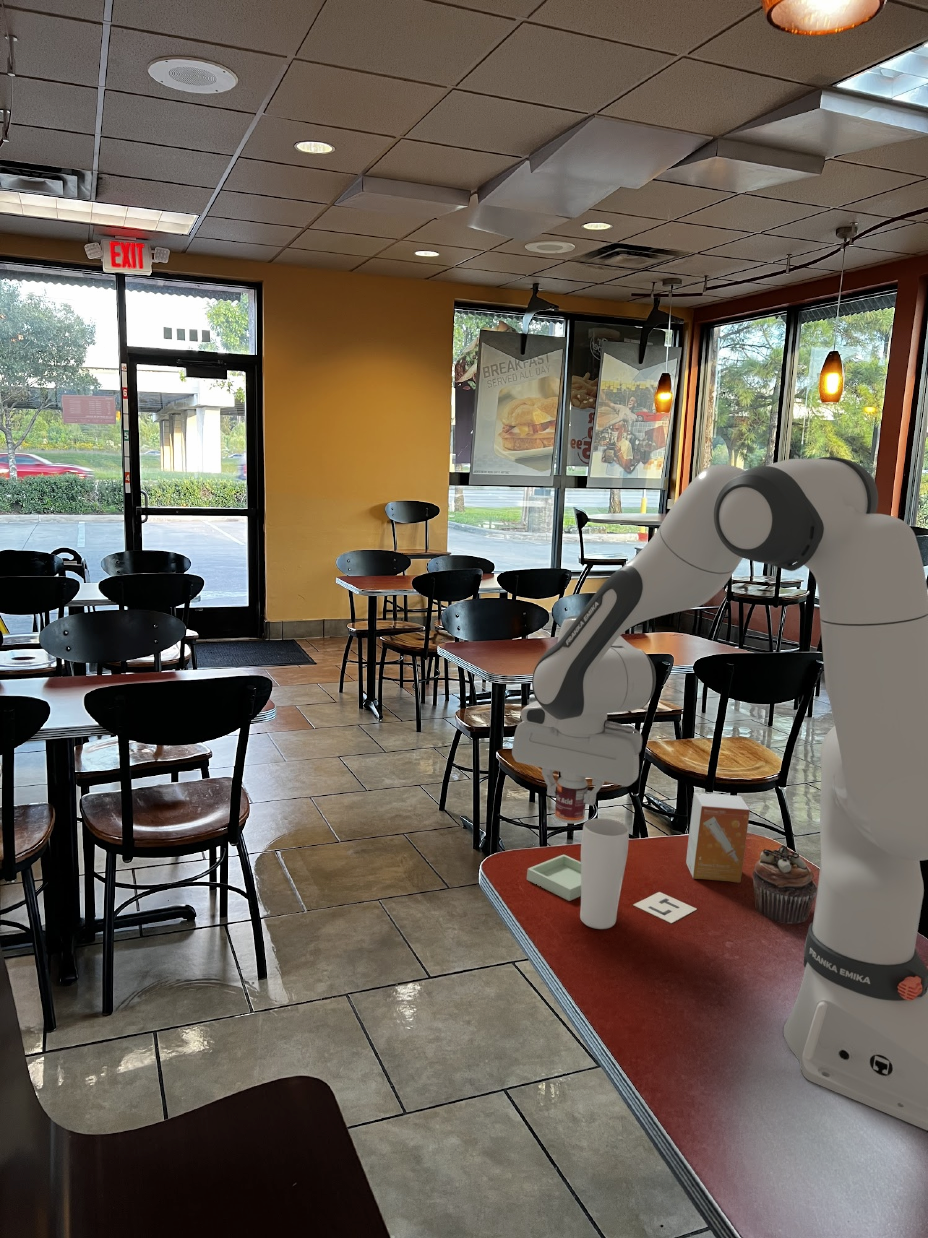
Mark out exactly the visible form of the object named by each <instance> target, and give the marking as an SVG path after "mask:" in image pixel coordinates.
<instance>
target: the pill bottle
mask: <svg viewBox="0 0 928 1238" xmlns="http://www.w3.org/2000/svg"><path fill="white" fill-rule="evenodd" d="M556 783H557V794H556V797H555V805H554V806H555V807H554V818H555V819H557V820H558V821H559V822H562V823H566V824H580V823H582V822H584V820H585V813H586V812H585V811H586V805H587V804H584V803H583V800H584V793H585V792H586V791H588V785H589V784H588V781H587V777H582V776H578V775H576V774H575V773H573V772H569V771H565V772H560V777H559V778H558V779H557V782H556Z"/></svg>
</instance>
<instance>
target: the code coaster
mask: <svg viewBox="0 0 928 1238" xmlns="http://www.w3.org/2000/svg"><path fill="white" fill-rule="evenodd" d="M632 905H633V906H634V907H636V908H637V909H640V910H642V911H643V912H646V913H649V914H651V915H652V916H655V917H657V918H659V919H661V920H664V921H665V922H667V923H669V924H673V923H675V922H677V921H679V920H681V919H682V918H684V917H686V916H688V915H690V914H692V913H694V912H695V911H697V910H698V908H696V907H693V906H691V905H690V904H687V903H685V902H683V901H681V900H678V899H676V898H674V897H673V896H670V895H667V894H665V893H663V892H661V891H658V892H656V893H654V894H652V895H650V896H647V898H644V899H642V900H640V901H638V902H635V903H634V904H632Z"/></svg>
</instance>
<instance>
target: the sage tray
mask: <svg viewBox="0 0 928 1238" xmlns="http://www.w3.org/2000/svg"><path fill="white" fill-rule="evenodd" d="M526 871H527V873H526V880H527V881H528V882H530V883H533V884H534V885H536V884H537V885H536V886H538V887H540V886H541V887H540V888H541V889H542V888H543V889H545V890H546V891H548V892H551V893H552V894H554V895H557V896H559V897H560V898H563V899H564V900H566V901H568V902H570V901H572V900H575V899H577V898H579V897H581V861H580V860H576V859H575V858H573V857H570V856H568V855H566V854H562V855H558V856H556V857H554V858H551V859H548V860H546V861H544V862H541V863H539V864H536V865H534V866H531V867H528V868H527V870H526Z"/></svg>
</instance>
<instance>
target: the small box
mask: <svg viewBox="0 0 928 1238" xmlns="http://www.w3.org/2000/svg"><path fill="white" fill-rule="evenodd" d="M691 805H692V807H691V815H690V824H689V831H688V832H689V833H688V839H687V840H688V842H687V852H686V860H685V861H686V862H685V863H686V865H687V868H688V870H689V872H690V875H691V877H692V879H693V880H694V879H696V880H697V879H698V880H709V881H711V880H712V881H722V882H733V883H741V881H742V875H743V874H742V873H743V868H744V867H743V866H744V858H745V851H746V844H747V834H748V828H749V827H748V826H749V819H750V813H751V809H750V808H749V807H748V805H747V804H746V801H745V800H744V798H743V797H742V796H741V795H731V794H721V793H720V794H719V793H703V792H701V793H700V792H693V798H692V804H691Z"/></svg>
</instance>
